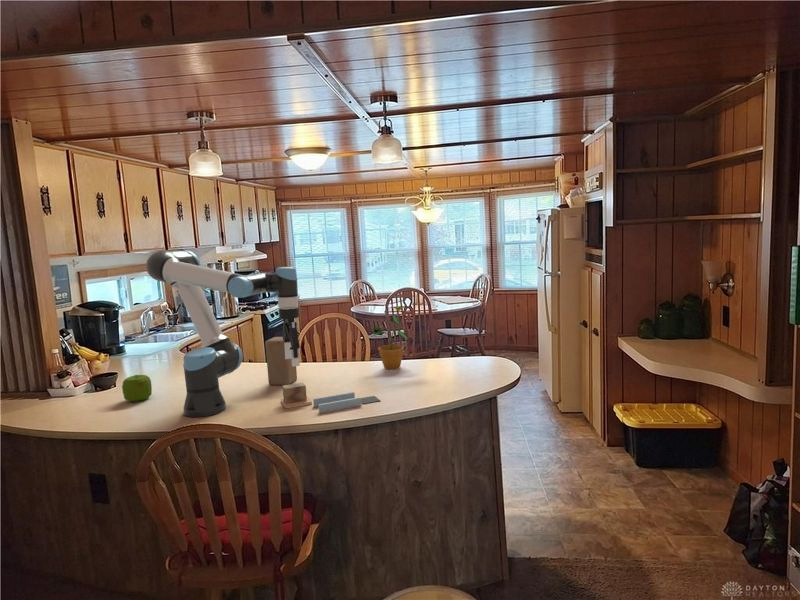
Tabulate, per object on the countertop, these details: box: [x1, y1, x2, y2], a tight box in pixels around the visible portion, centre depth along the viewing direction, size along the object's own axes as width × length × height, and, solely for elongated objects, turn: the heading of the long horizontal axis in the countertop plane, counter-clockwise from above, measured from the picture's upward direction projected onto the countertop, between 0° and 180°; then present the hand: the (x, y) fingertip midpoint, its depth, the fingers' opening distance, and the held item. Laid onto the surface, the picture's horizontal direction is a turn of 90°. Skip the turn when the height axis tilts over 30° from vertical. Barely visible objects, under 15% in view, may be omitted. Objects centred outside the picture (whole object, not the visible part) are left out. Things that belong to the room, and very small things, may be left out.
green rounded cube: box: [121, 374, 153, 403], centre depth 221 cm, size 11×11×11 cm
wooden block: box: [264, 336, 298, 386], centre depth 236 cm, size 10×10×20 cm
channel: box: [312, 391, 362, 414], centre depth 199 cm, size 16×9×3 cm, turn 113°
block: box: [281, 382, 308, 404], centre depth 205 cm, size 8×5×6 cm, turn 113°
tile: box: [280, 396, 313, 409], centre depth 206 cm, size 10×10×1 cm
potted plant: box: [371, 305, 408, 370], centre depth 250 cm, size 18×19×30 cm
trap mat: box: [361, 395, 381, 405], centre depth 204 cm, size 7×7×1 cm
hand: (292, 362), depth 204 cm, fingers open, 13 cm apart
